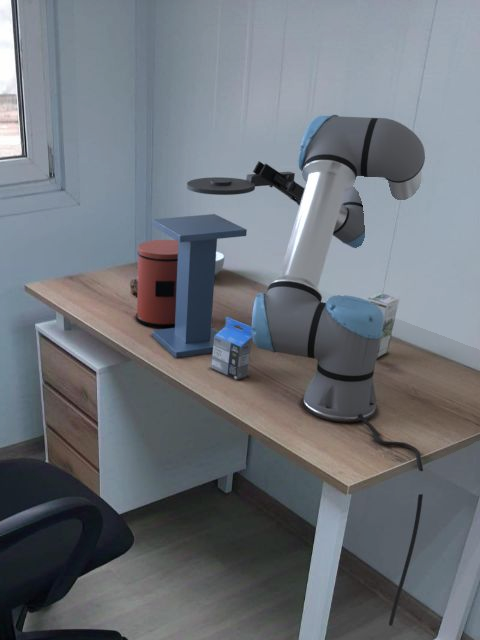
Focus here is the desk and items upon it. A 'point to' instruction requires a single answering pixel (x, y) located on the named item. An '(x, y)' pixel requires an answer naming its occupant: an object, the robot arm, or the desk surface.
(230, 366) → the label tape box
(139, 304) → the red banded canister
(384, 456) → the desk surface
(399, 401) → the desk surface
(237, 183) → the lid
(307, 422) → the desk surface
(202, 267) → the stand
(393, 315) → the syrup box
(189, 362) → the desk surface
